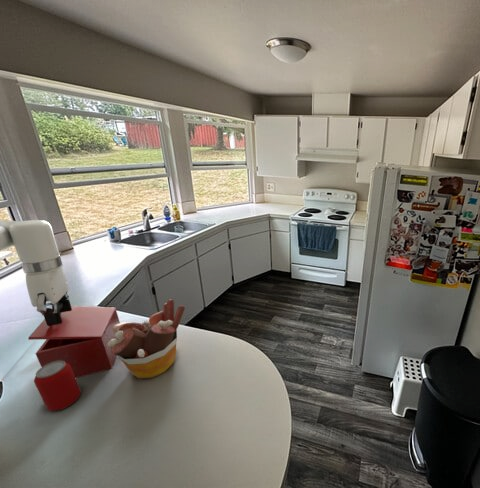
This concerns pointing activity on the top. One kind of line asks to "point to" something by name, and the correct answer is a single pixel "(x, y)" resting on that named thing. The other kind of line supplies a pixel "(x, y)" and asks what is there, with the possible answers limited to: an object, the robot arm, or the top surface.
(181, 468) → the top surface
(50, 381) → the beverage can
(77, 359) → the red hinged box
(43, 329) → the lid
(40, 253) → the robot arm
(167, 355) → the bucket of meat
